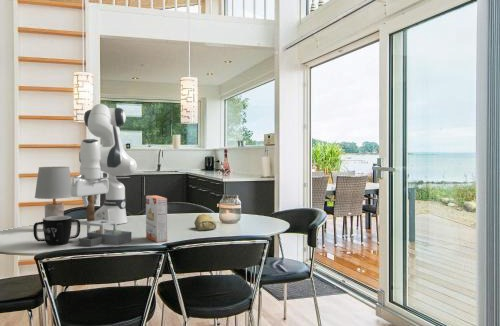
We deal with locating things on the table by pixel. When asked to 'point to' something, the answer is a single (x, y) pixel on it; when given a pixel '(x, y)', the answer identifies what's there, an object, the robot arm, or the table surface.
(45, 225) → the mug
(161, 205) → the cracker box
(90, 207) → the dowel
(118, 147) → the robot arm
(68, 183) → the lamp
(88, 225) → the grey stand
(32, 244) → the table surface
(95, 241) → the block
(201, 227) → the pastry
